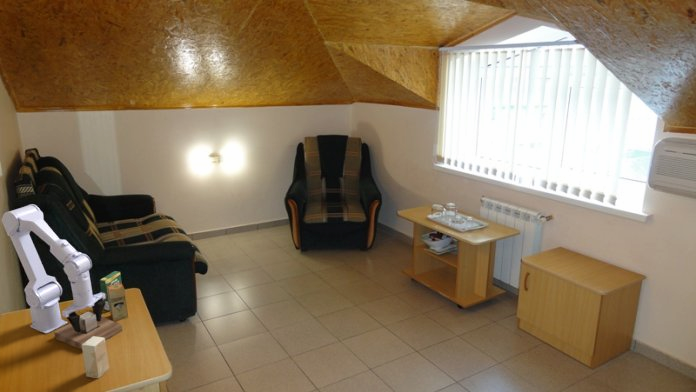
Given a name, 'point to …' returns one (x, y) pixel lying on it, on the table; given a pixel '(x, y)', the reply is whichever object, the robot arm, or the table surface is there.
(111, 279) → the coffee box
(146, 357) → the table surface
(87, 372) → the box
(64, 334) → the socket block
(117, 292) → the shoe polish box
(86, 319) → the peg
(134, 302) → the table surface
